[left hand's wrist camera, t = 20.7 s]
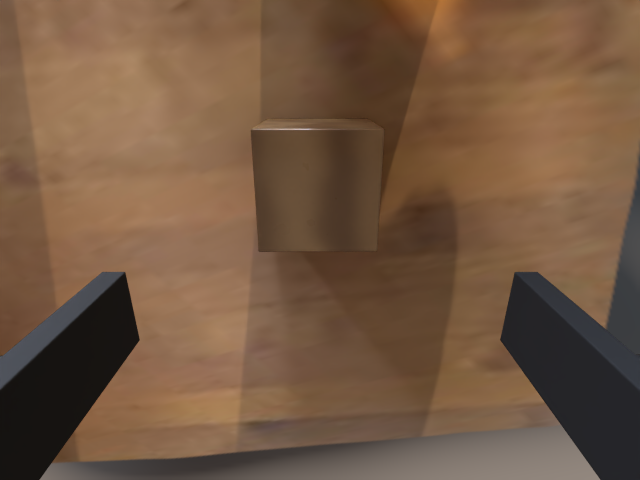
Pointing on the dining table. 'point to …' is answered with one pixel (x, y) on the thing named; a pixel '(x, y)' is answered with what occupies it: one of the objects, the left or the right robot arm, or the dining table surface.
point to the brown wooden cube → (317, 184)
